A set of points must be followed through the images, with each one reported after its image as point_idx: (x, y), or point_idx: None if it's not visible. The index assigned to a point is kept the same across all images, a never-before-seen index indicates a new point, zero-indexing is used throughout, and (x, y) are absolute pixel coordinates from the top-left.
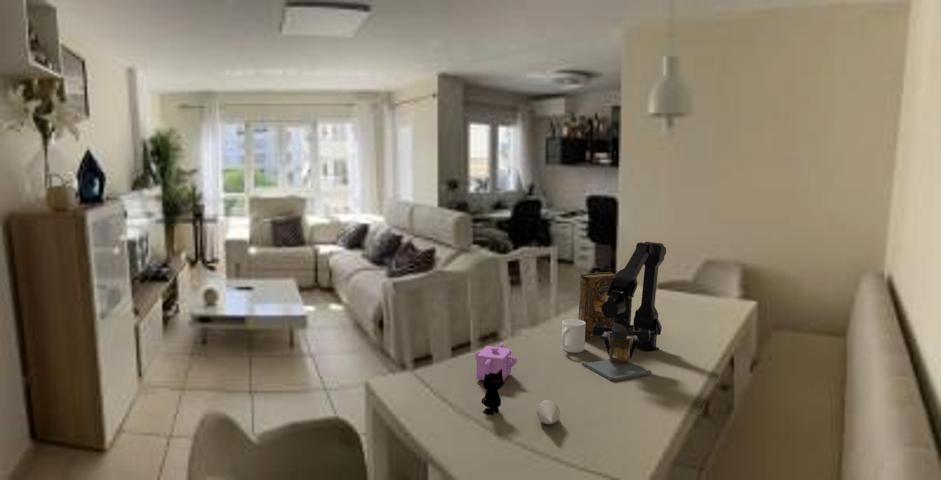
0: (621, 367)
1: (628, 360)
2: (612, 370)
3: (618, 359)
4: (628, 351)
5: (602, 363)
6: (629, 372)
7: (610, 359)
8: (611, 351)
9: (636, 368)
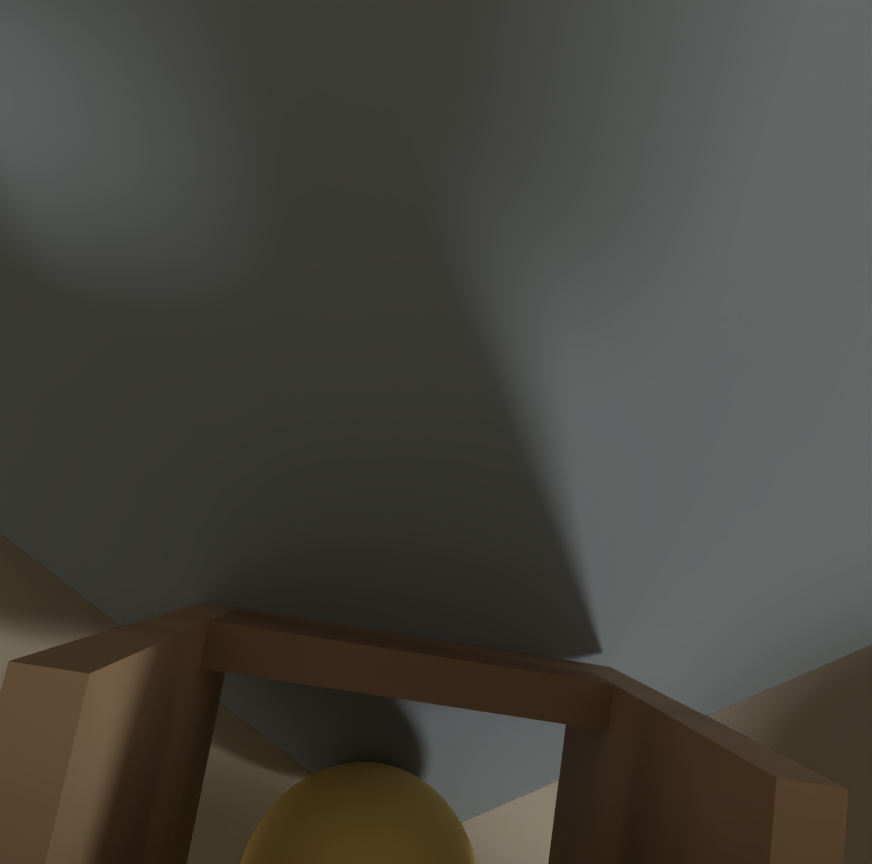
0: (365, 416)
1: (168, 619)
2: (629, 135)
3: (435, 665)
4: (12, 860)
5: (793, 556)
6: (127, 88)
7: (619, 677)
8: (691, 862)
9: (11, 434)
